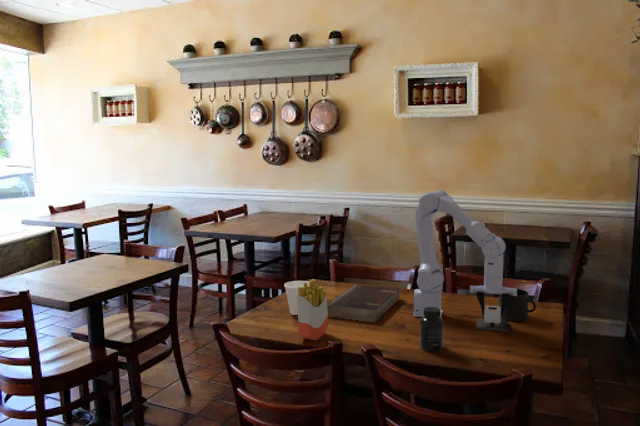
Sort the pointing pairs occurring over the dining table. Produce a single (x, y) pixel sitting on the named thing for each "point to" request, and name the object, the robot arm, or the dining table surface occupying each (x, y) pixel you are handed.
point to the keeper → (492, 325)
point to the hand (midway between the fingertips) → (492, 315)
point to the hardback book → (363, 302)
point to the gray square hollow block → (492, 314)
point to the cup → (293, 294)
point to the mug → (517, 306)
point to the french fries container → (312, 311)
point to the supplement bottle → (431, 330)
